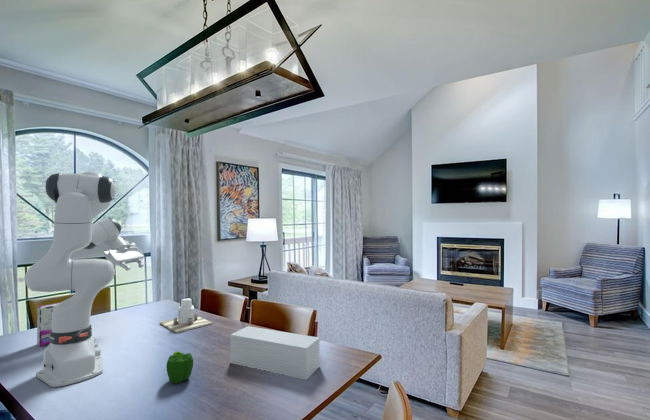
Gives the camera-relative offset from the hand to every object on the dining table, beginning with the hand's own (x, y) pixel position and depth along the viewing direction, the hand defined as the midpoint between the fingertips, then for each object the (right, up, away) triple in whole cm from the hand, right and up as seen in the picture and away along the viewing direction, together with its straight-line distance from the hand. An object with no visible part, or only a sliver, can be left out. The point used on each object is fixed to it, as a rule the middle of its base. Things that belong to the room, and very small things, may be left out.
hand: (135, 268), depth 162 cm
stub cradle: (+23, -30, +4) cm, 38 cm away
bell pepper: (+46, -28, -54) cm, 76 cm away
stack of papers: (+76, -29, -42) cm, 91 cm away
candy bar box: (-24, -29, -20) cm, 43 cm away
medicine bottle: (+23, -29, +4) cm, 37 cm away
